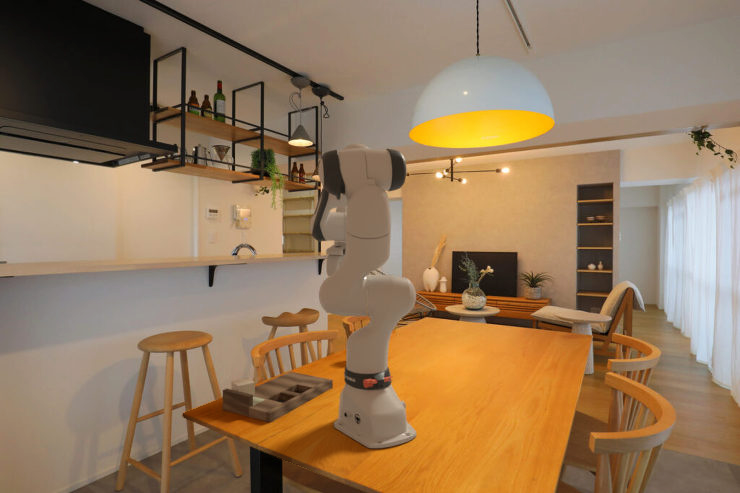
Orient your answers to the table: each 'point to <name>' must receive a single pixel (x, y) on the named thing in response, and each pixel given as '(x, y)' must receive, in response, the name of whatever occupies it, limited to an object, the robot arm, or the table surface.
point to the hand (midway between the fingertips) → (346, 288)
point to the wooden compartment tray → (276, 396)
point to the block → (244, 386)
